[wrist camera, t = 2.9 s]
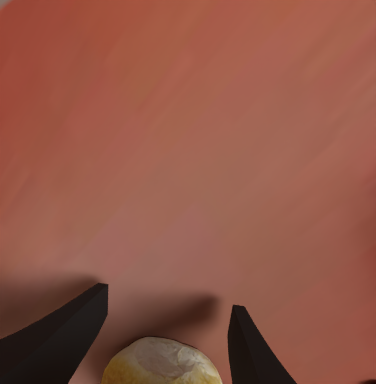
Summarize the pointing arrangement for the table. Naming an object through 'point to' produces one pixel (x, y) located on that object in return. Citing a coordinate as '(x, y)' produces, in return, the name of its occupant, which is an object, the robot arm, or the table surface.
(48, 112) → the table surface
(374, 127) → the table surface
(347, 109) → the table surface
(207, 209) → the table surface
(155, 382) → the bread roll
